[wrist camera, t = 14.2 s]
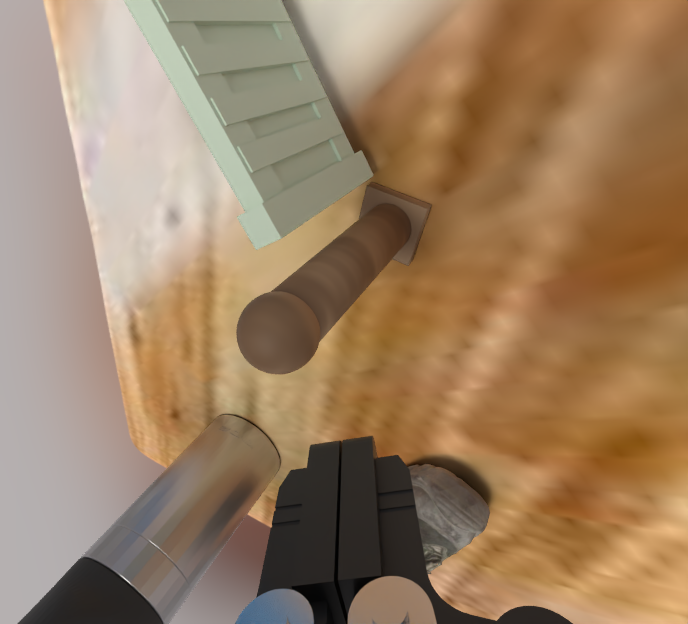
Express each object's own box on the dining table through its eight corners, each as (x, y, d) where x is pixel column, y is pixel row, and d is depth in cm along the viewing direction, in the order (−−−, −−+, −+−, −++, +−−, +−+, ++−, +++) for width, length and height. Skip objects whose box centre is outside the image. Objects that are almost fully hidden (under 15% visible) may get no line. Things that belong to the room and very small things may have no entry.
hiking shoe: (537, 539, 34) (426, 630, 27) (405, 574, 49) (314, 639, 43) (469, 429, 38) (357, 486, 31) (366, 494, 53) (276, 542, 46)
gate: (373, 175, 26) (281, 238, 18) (352, 186, 27) (256, 250, 19) (241, -106, 22) (50, -174, 14) (221, -81, 23) (33, -133, 15)
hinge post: (412, 260, 29) (292, 413, 18) (358, 237, 30) (211, 368, 19) (431, 204, 27) (307, 340, 15) (372, 182, 27) (213, 293, 16)
